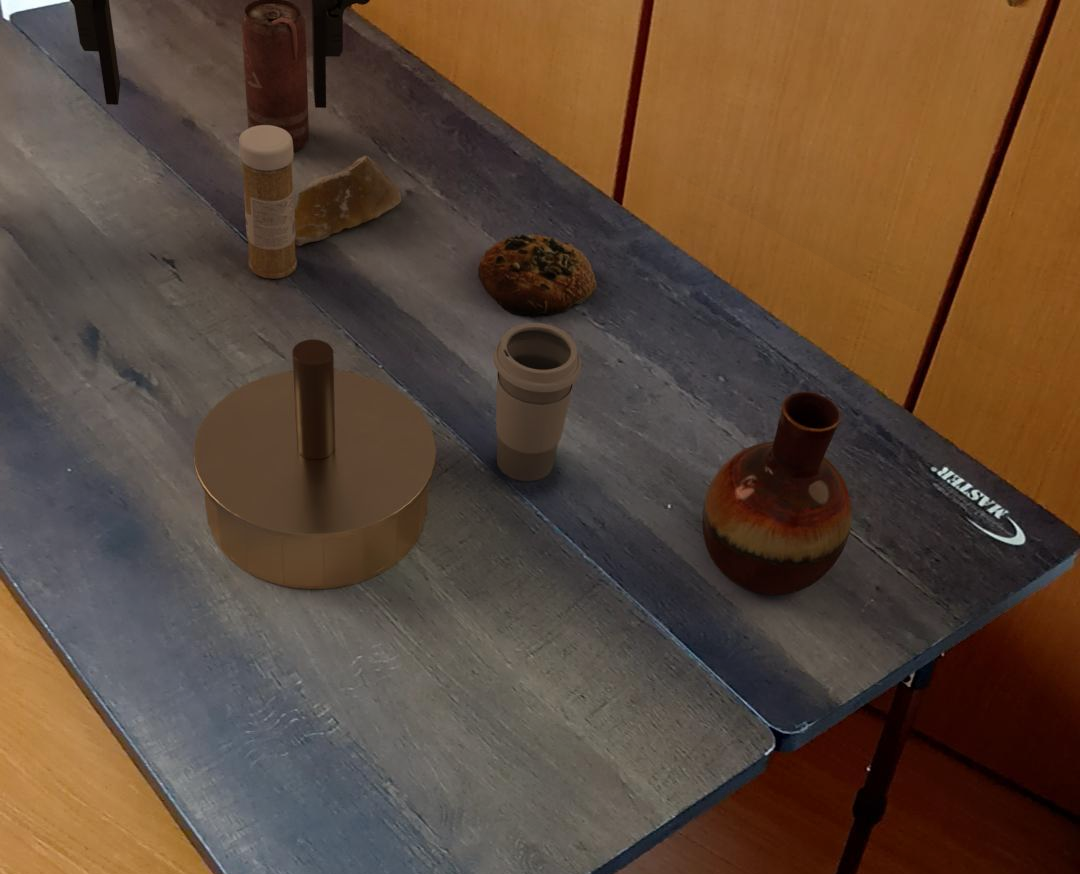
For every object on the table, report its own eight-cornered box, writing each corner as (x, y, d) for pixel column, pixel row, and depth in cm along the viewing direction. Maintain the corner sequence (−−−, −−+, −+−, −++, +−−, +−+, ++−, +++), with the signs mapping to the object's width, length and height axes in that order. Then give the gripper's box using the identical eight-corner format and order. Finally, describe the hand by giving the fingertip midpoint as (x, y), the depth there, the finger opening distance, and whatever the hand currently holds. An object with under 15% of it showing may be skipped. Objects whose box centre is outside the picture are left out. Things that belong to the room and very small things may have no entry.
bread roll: (476, 314, 120) (482, 264, 117) (475, 257, 129) (481, 209, 126) (596, 325, 122) (605, 277, 118) (587, 268, 130) (596, 221, 127)
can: (284, 164, 134) (278, 32, 124) (237, 141, 136) (227, 10, 126) (323, 140, 138) (320, 11, 128) (276, 119, 140) (269, -11, 130)
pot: (208, 598, 95) (201, 542, 91) (207, 438, 106) (201, 382, 102) (437, 583, 98) (440, 528, 94) (413, 429, 110) (415, 374, 105)
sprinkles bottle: (255, 248, 124) (246, 119, 114) (303, 256, 124) (298, 127, 114) (242, 277, 121) (232, 146, 111) (291, 284, 121) (285, 154, 111)
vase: (688, 598, 100) (730, 450, 89) (696, 496, 107) (736, 348, 96) (833, 623, 100) (894, 478, 88) (831, 519, 107) (886, 373, 96)
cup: (472, 440, 109) (481, 325, 101) (547, 426, 111) (562, 312, 103) (501, 499, 105) (513, 384, 96) (578, 483, 107) (597, 369, 98)
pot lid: (194, 553, 91) (179, 445, 84) (194, 384, 103) (181, 277, 95) (449, 538, 94) (456, 433, 87) (421, 376, 106) (426, 271, 98)
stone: (398, 214, 135) (294, 280, 126) (358, 164, 134) (251, 227, 126) (428, 178, 129) (321, 245, 120) (386, 125, 128) (276, 188, 120)
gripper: (-56, -244, 69) (17, 122, 85) (420, -215, 74) (407, 127, 89) (-38, -291, 74) (29, 63, 89) (408, -261, 79) (397, 71, 94)
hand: (218, 96), depth 89 cm, fingers open, 13 cm apart
